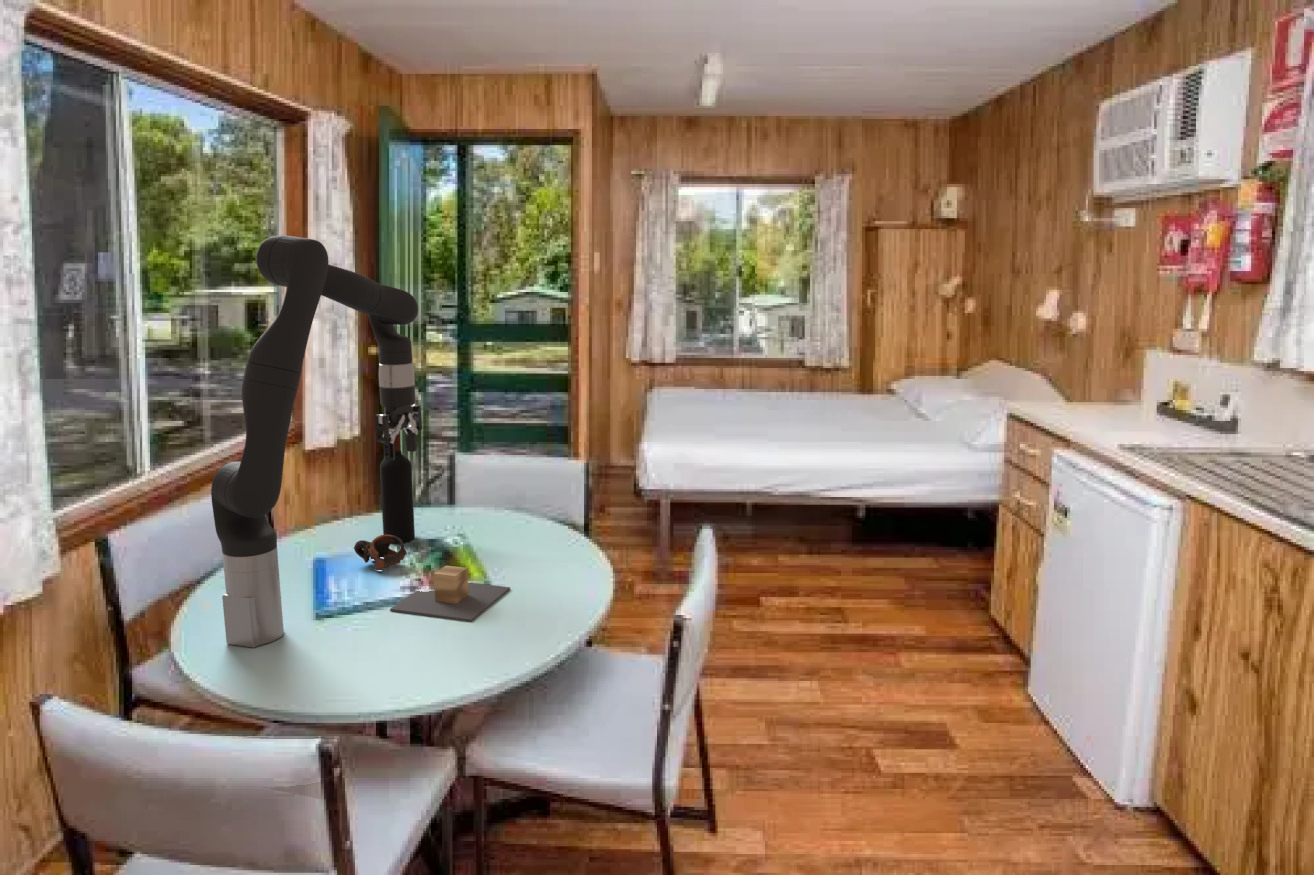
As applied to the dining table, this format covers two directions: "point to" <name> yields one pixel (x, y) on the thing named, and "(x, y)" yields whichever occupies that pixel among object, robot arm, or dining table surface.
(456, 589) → the oak block
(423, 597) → the charcoal mat
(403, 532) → the wine bottle
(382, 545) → the brown hollow rounded piece
